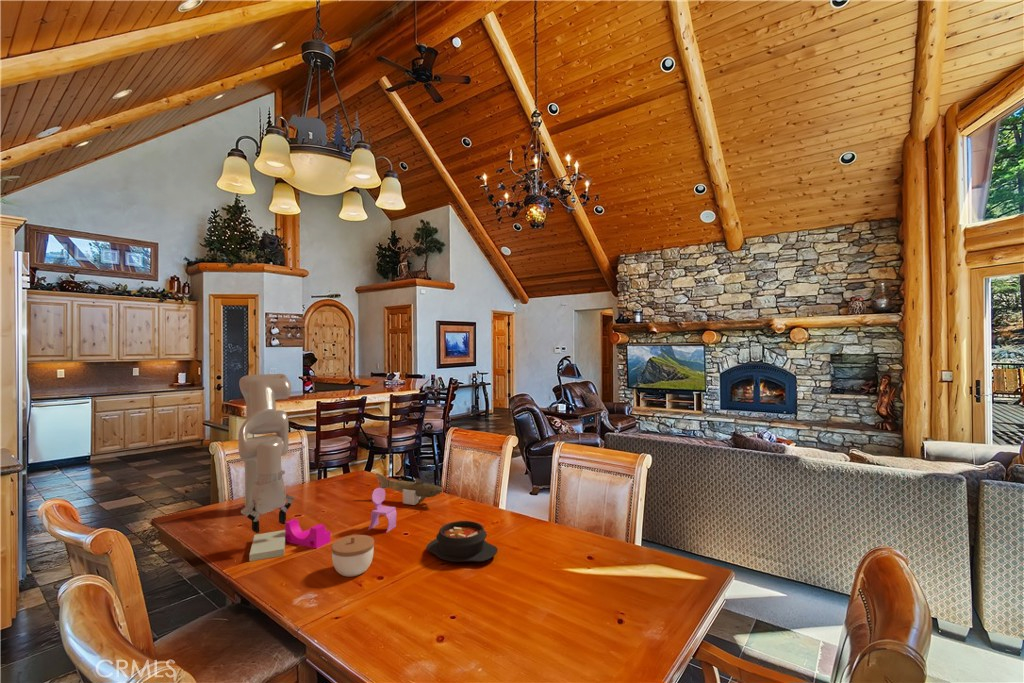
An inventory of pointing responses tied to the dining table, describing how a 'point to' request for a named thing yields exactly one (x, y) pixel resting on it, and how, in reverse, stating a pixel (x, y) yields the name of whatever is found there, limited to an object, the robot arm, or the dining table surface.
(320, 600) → the dining table surface
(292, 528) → the toy block
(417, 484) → the wood carving
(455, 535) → the casserole
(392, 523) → the toy chair
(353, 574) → the lidded bowl
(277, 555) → the base slab
